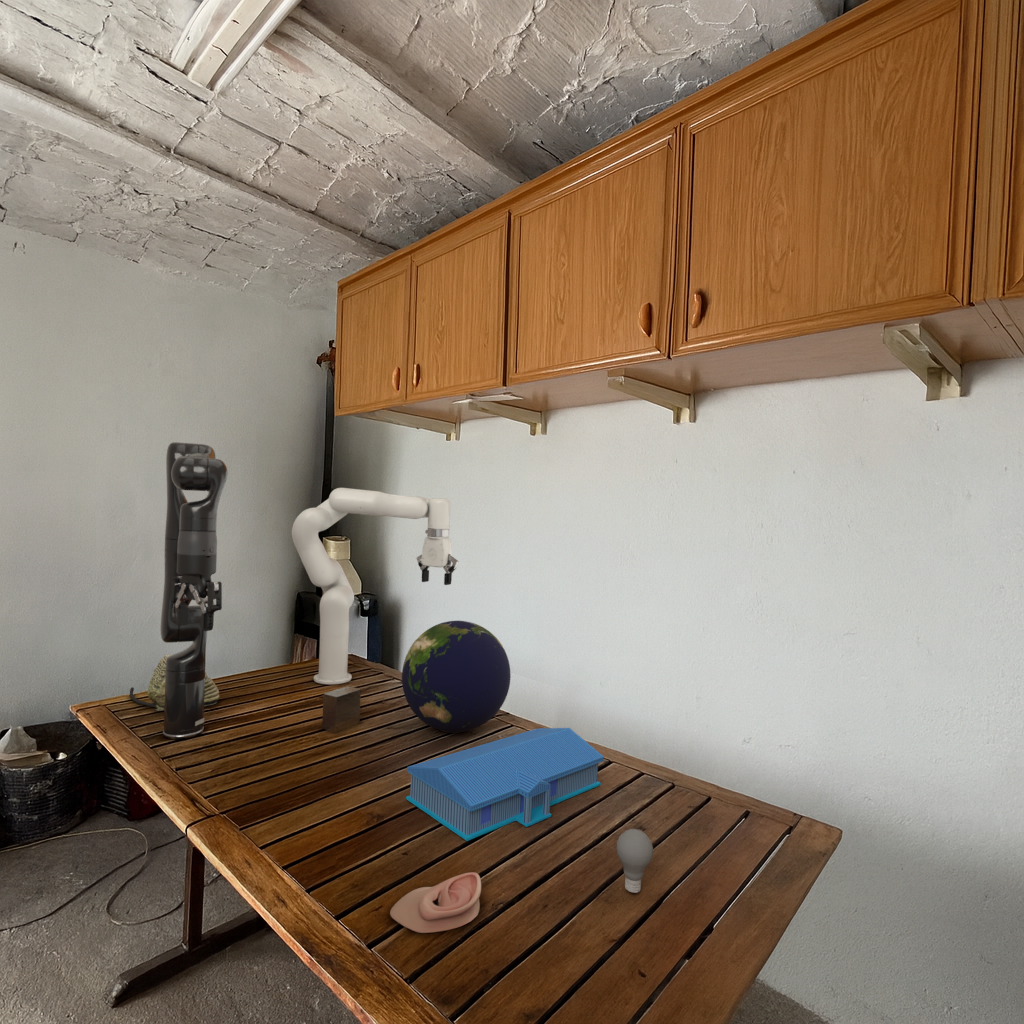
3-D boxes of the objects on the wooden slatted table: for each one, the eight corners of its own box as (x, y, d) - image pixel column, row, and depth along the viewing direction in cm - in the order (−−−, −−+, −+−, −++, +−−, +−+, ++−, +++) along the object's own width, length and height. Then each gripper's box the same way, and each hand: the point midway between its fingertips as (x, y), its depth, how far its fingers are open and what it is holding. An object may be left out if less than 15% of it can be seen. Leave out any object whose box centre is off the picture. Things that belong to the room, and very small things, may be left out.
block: (322, 728, 172) (323, 693, 172) (346, 719, 180) (347, 685, 180) (335, 732, 170) (336, 697, 170) (359, 723, 178) (360, 689, 177)
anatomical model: (382, 899, 94) (410, 857, 105) (381, 926, 94) (409, 881, 105) (468, 915, 91) (487, 870, 103) (467, 942, 92) (486, 894, 103)
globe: (377, 737, 168) (382, 624, 167) (433, 705, 195) (437, 608, 195) (480, 759, 156) (485, 638, 156) (523, 721, 184) (528, 619, 183)
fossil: (144, 707, 182) (145, 655, 182) (212, 696, 194) (213, 647, 194) (151, 716, 175) (153, 662, 175) (221, 703, 188) (223, 653, 188)
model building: (477, 848, 116) (480, 794, 116) (404, 798, 134) (406, 751, 134) (612, 789, 143) (614, 745, 142) (536, 754, 161) (537, 715, 161)
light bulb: (610, 879, 108) (613, 822, 108) (644, 879, 109) (647, 822, 109) (619, 902, 102) (622, 840, 102) (655, 901, 103) (658, 840, 103)
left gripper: (160, 549, 135) (157, 625, 135) (201, 555, 128) (198, 635, 128) (193, 548, 141) (190, 620, 141) (234, 553, 134) (231, 629, 134)
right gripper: (411, 532, 220) (409, 581, 221) (452, 535, 212) (450, 586, 212) (425, 532, 227) (423, 579, 227) (465, 535, 218) (462, 584, 219)
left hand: (194, 627), depth 135 cm, fingers open, 8 cm apart
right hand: (436, 583), depth 220 cm, fingers open, 9 cm apart
